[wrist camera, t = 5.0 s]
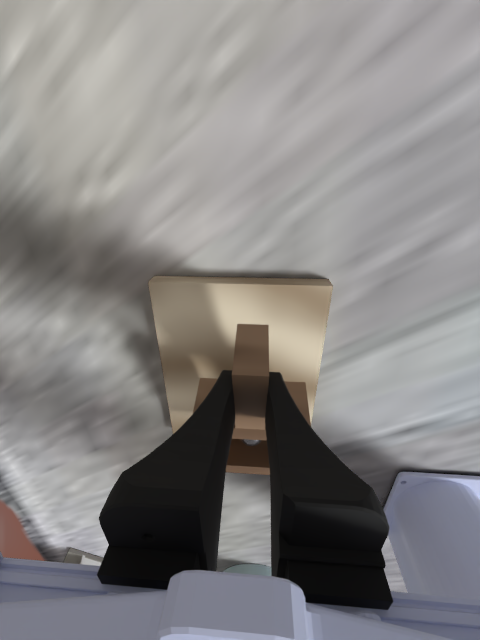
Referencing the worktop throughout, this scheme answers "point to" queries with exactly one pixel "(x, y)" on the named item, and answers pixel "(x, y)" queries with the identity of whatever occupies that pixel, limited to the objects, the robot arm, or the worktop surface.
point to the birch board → (221, 325)
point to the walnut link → (251, 399)
